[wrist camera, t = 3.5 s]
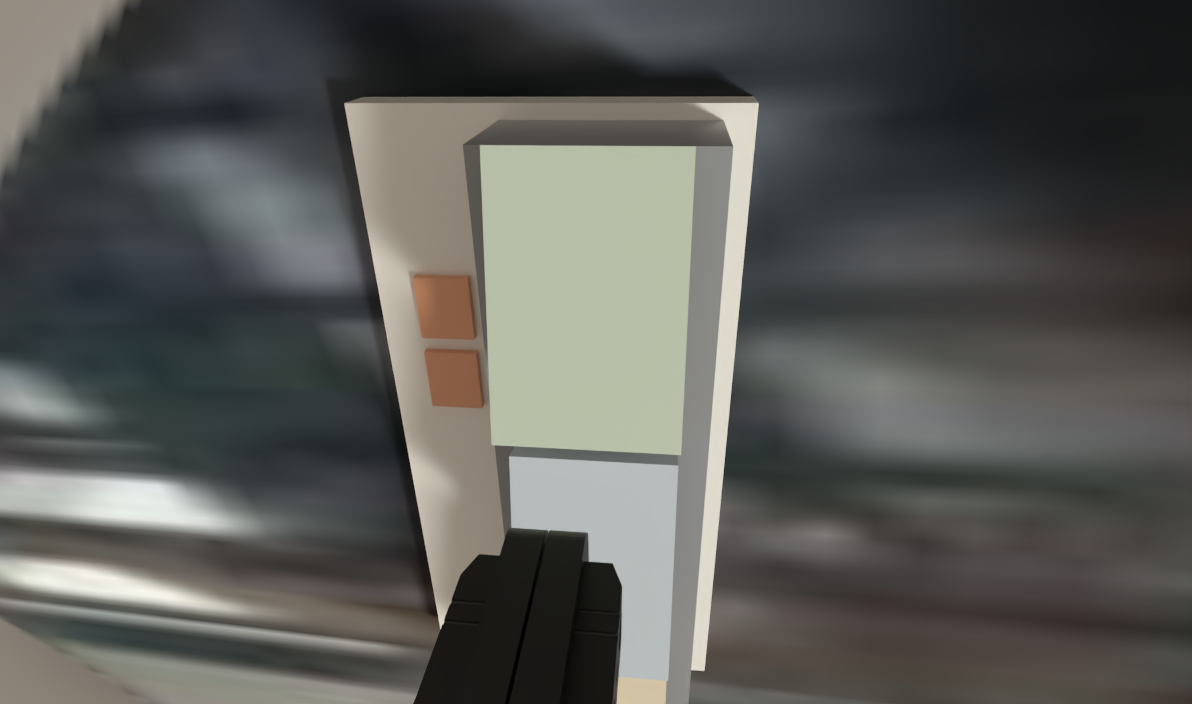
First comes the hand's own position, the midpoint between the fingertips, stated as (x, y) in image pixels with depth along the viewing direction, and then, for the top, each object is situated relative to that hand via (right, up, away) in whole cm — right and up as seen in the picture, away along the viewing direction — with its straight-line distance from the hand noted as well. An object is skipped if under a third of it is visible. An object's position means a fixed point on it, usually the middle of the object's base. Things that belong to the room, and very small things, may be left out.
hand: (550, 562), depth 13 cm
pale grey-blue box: (+1, -2, +10) cm, 10 cm away
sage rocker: (+1, +6, +6) cm, 8 cm away
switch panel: (0, +1, +15) cm, 15 cm away
